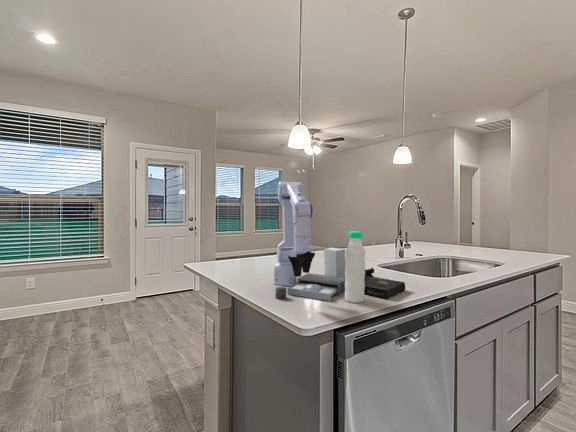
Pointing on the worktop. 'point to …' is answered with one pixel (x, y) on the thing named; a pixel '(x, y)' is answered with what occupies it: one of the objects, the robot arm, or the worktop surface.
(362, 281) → the water bottle
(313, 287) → the disc
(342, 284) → the housing
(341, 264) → the skincare box
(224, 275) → the worktop surface
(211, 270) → the worktop surface
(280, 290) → the dark grey cylinder
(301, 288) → the tray
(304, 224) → the robot arm
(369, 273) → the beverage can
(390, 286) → the portable cd player
